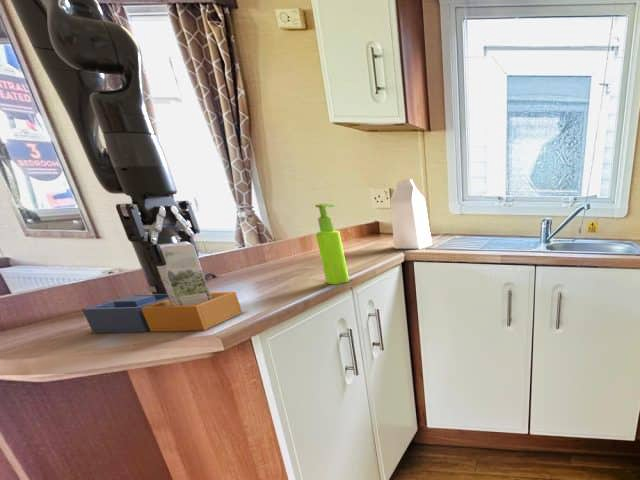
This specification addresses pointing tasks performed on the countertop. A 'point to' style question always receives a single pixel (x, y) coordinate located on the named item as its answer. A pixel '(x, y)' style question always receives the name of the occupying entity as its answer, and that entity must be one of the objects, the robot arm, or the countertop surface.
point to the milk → (409, 217)
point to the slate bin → (119, 316)
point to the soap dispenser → (331, 249)
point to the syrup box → (183, 275)
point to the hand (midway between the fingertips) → (176, 261)
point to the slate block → (134, 301)
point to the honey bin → (192, 313)
